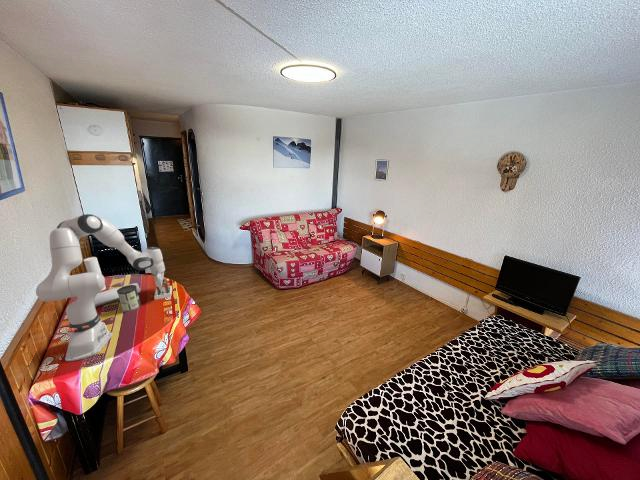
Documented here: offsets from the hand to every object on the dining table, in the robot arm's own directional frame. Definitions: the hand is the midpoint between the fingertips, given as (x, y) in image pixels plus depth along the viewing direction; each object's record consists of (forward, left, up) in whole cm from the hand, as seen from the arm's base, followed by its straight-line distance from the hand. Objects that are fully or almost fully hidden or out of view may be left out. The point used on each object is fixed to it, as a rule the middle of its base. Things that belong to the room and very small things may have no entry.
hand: (161, 286), depth 185 cm
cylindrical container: (+28, +44, -7) cm, 52 cm away
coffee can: (-10, +17, -7) cm, 21 cm away
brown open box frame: (-1, 0, -6) cm, 6 cm away
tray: (+10, +31, -7) cm, 34 cm away
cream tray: (-1, 0, -7) cm, 7 cm away
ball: (-1, 0, -6) cm, 6 cm away
